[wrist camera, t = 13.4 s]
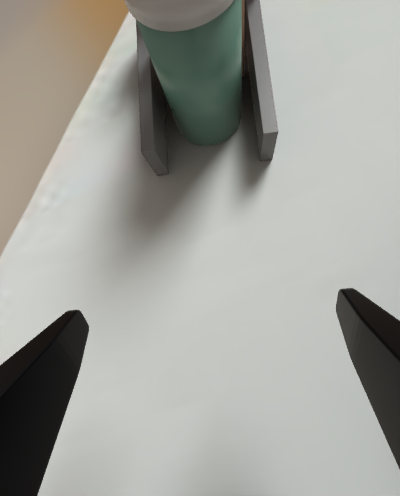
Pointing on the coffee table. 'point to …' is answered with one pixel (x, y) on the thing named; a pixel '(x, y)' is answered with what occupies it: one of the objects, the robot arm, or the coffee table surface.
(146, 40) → the jar
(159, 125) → the pusher lane
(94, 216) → the coffee table surface
